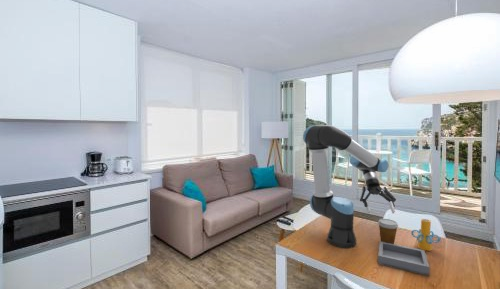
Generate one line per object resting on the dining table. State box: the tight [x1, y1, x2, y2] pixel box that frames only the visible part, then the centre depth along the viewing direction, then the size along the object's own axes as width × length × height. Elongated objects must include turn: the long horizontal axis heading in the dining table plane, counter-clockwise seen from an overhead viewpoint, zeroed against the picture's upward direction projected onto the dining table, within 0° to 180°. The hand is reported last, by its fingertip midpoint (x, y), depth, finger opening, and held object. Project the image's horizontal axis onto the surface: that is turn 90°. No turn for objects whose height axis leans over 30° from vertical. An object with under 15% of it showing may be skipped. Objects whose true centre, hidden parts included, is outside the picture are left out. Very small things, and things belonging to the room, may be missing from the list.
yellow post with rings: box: [410, 218, 441, 252], centre depth 125 cm, size 12×10×15 cm
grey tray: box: [377, 241, 430, 277], centre depth 114 cm, size 19×16×4 cm
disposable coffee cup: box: [377, 218, 399, 244], centre depth 131 cm, size 10×10×12 cm
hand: (381, 212), depth 140 cm, fingers open, 13 cm apart
